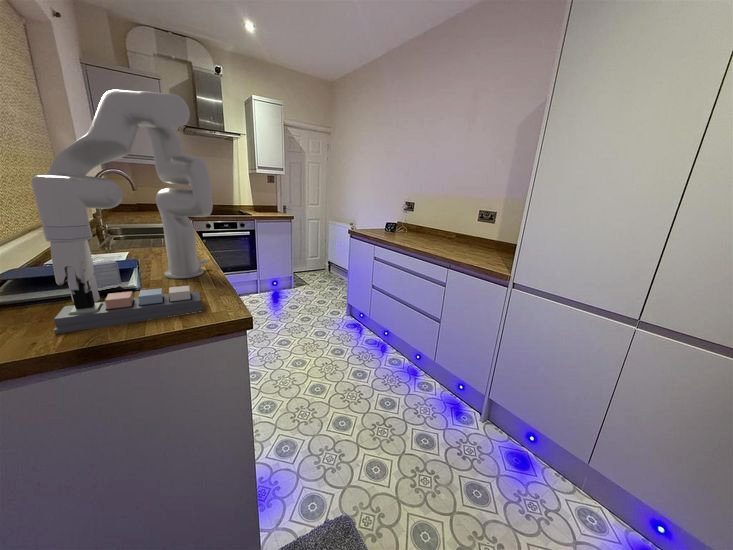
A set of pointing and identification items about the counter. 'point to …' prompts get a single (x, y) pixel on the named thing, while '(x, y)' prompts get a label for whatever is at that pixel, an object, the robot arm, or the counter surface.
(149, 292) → the key
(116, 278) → the medicine box
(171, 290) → the key
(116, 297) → the key
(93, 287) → the eye dropper bottle
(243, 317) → the counter surface
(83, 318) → the keypad housing
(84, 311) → the key
